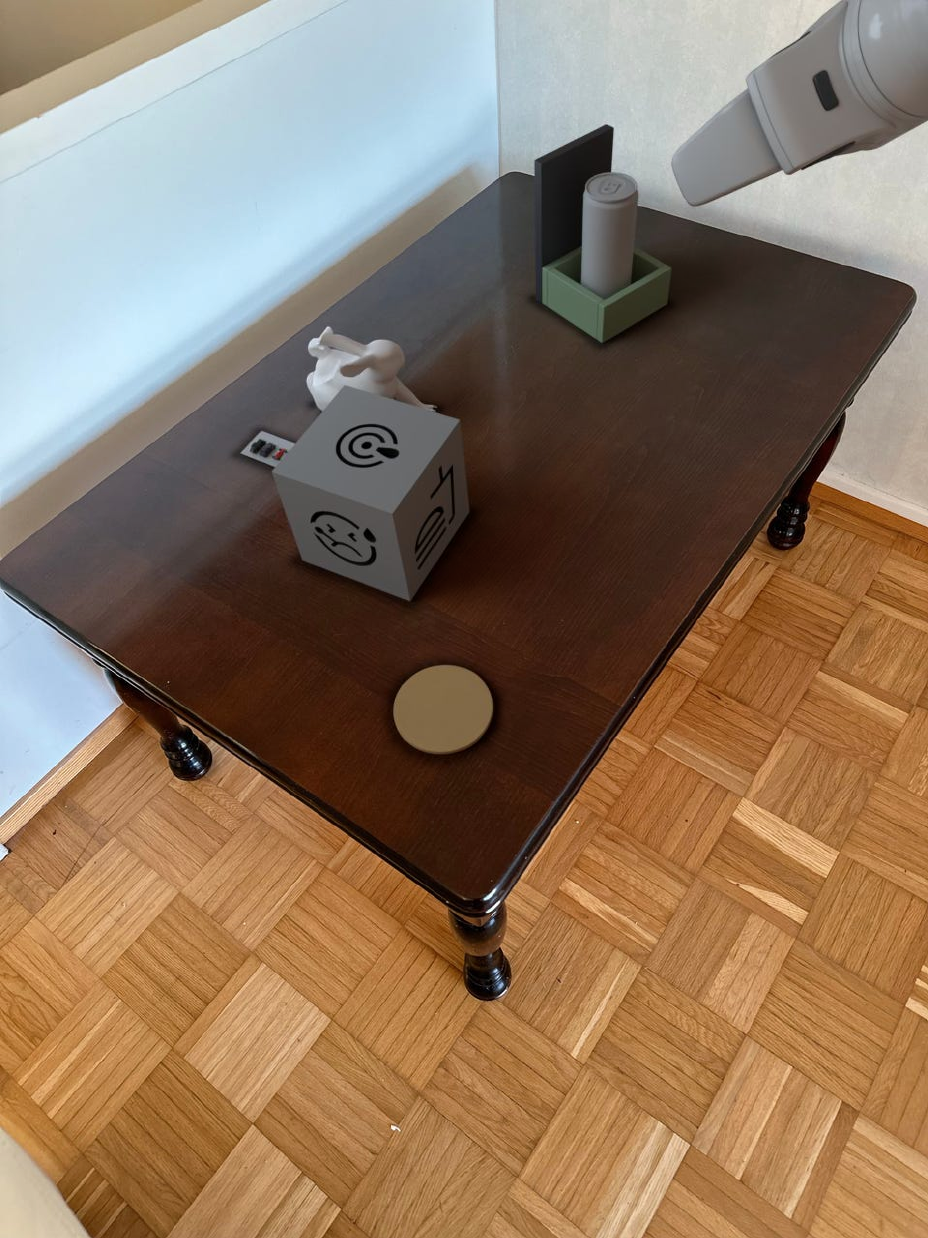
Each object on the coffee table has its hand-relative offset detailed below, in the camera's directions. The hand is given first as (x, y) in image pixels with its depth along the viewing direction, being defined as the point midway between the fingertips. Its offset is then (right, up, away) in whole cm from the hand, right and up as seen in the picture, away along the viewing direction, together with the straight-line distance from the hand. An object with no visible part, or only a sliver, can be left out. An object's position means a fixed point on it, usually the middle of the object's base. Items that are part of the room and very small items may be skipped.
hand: (731, 162), depth 69 cm
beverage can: (-7, -4, +20) cm, 21 cm away
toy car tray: (-36, -21, +11) cm, 43 cm away
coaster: (-22, -41, -5) cm, 47 cm away
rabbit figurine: (-30, -17, +13) cm, 36 cm away
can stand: (-7, -4, +20) cm, 21 cm away
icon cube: (-27, -28, +5) cm, 39 cm away
